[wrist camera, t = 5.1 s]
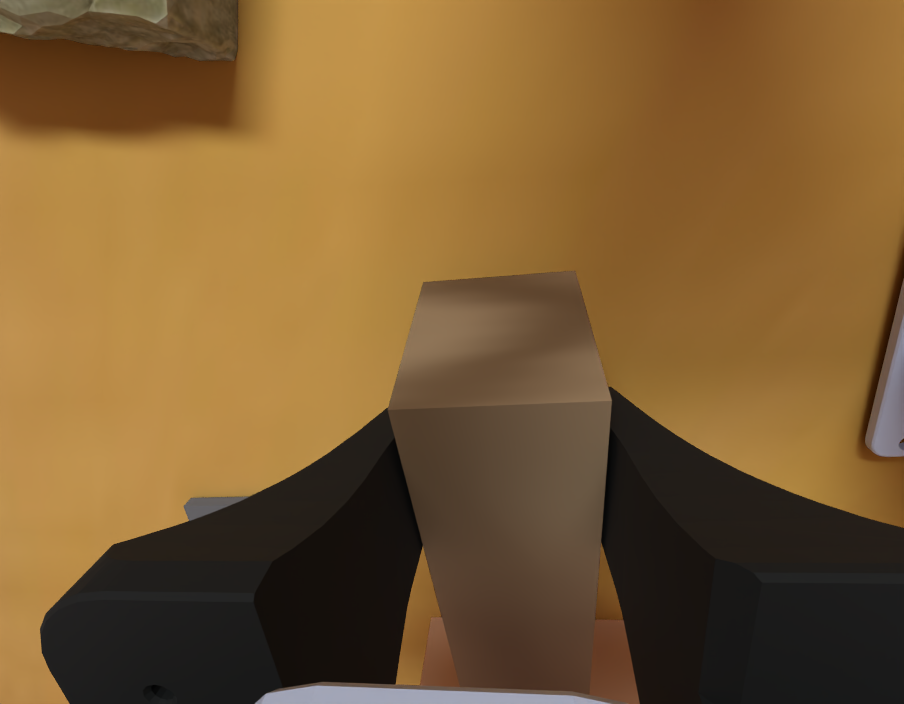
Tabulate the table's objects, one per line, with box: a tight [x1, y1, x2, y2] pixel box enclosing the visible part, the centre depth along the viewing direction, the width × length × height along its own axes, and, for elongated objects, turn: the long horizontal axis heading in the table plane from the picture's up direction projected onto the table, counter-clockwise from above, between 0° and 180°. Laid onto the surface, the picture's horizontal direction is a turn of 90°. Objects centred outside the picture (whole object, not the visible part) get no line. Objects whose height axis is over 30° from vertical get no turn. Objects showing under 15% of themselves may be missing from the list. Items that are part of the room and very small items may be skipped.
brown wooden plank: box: [388, 271, 612, 695], centre depth 13 cm, size 4×12×4 cm, turn 6°
